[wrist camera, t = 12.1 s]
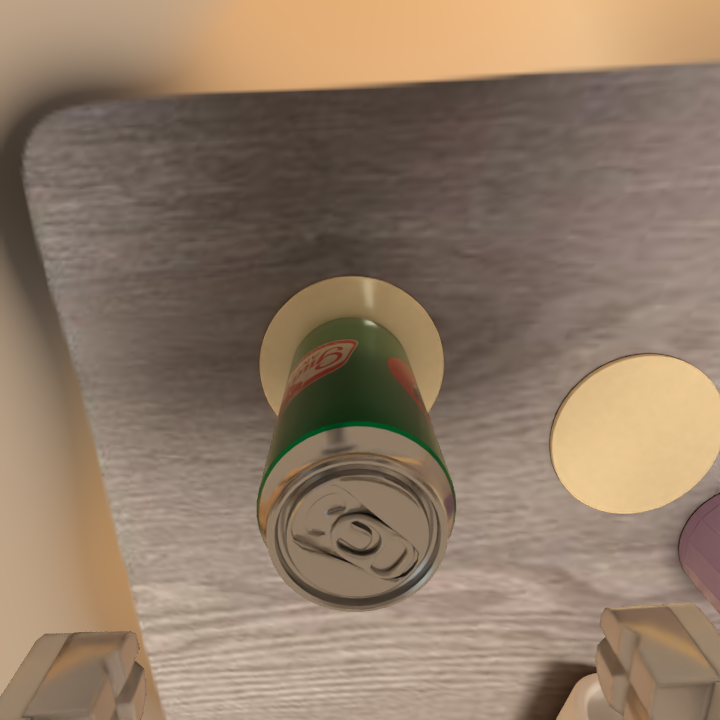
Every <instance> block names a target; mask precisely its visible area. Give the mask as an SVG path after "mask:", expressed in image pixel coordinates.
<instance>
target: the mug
mask: <svg viewBox="0 0 720 720" xmlns="http://www.w3.org/2000/svg"><path fill="white" fill-rule="evenodd" d="M556 720H623V717H622V716H621V715H620V714H619V713H617V712H616V711H615V710H613V709H612V708H611V707H610V706H609V705H608V703H607V701H606V699H605V696H604V694H603V692H602V689H601V686H600V683H599V680H598V675H597V673H594V674H590V675H587V676H585V677H583V678H582V679H580V680H579V681H578V682H577V683H576V685H575V686H574V688H573V690H572V691H571V693H570V695H569V697H568V699H567V700H566V702H565V704H564V706H563V708H562V709H561V711H560V713H559V715H558V717H557V718H556Z"/></svg>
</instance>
